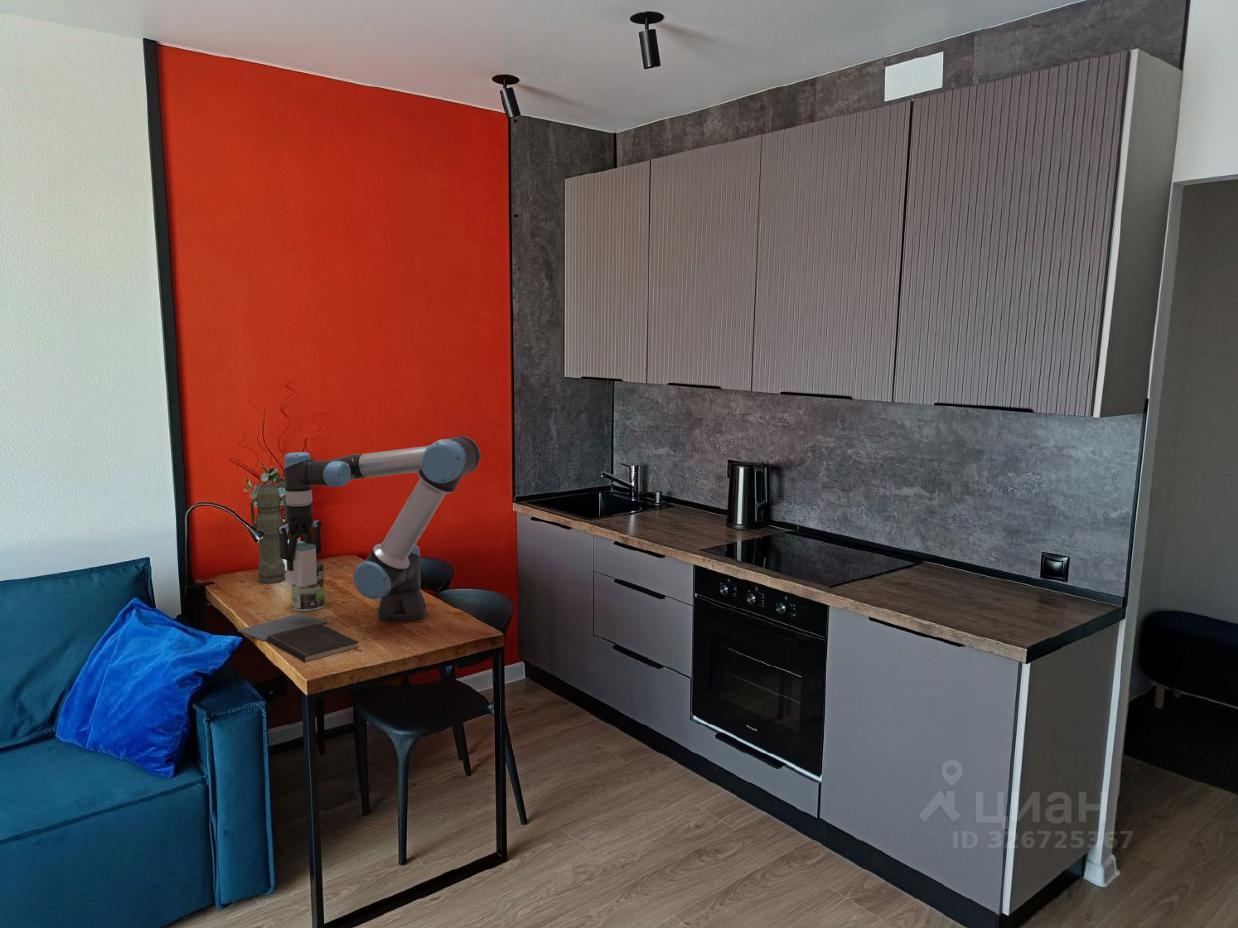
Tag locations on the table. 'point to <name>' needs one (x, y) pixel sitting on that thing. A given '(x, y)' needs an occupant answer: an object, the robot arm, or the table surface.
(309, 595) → the coffee can
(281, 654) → the table surface
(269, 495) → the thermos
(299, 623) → the mat
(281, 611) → the table surface
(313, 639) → the hardcover book
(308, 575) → the slab
